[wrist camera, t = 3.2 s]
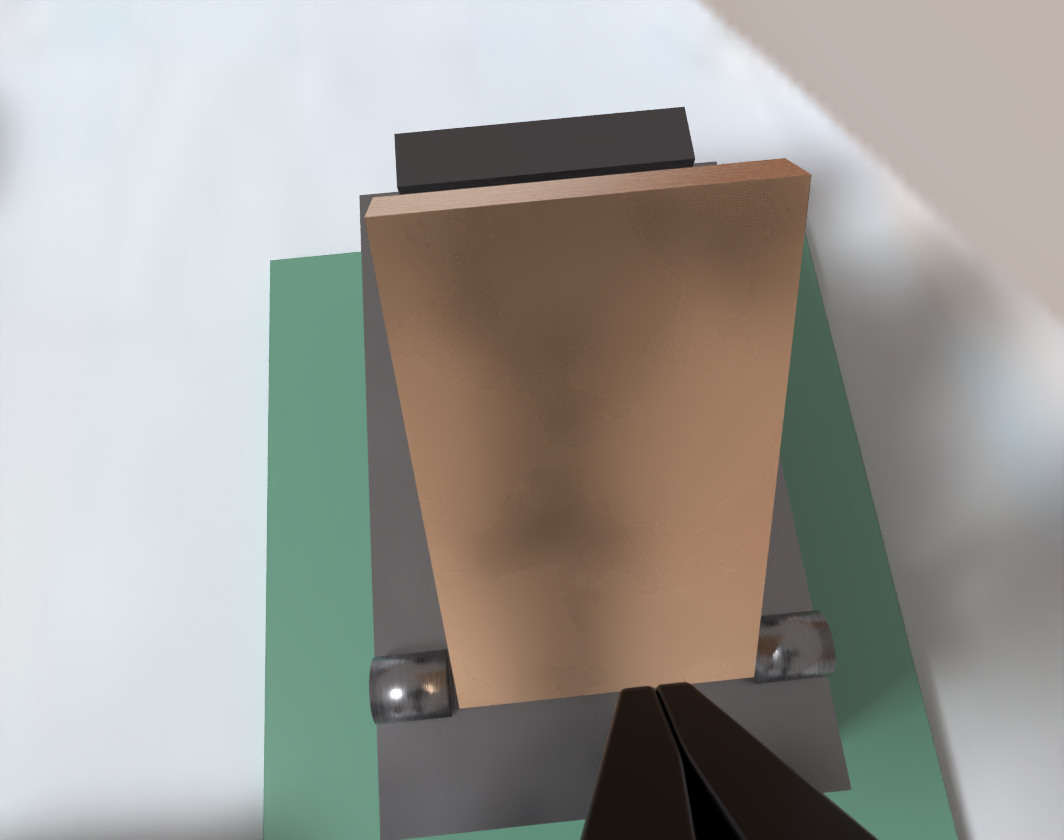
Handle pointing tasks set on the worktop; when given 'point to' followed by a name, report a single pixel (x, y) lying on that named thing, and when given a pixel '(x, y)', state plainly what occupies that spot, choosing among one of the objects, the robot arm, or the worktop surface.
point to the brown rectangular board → (595, 417)
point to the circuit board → (346, 579)
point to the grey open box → (409, 586)
